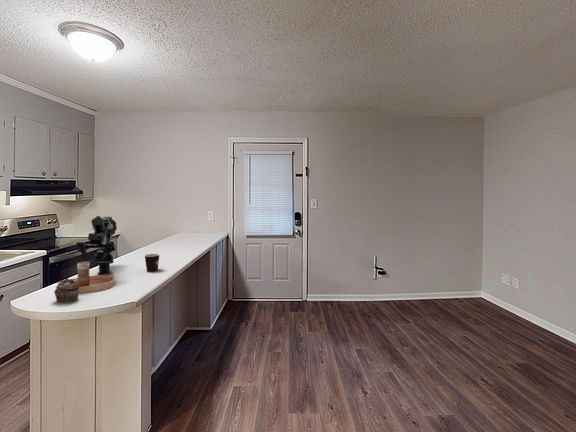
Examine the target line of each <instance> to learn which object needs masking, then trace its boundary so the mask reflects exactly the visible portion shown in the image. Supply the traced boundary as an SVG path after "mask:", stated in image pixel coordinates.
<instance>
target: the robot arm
mask: <svg viewBox="0 0 576 432" xmlns="http://www.w3.org/2000/svg"><path fill="white" fill-rule="evenodd" d="M91 225H92V229H93V231H94V232H93V233H88V235H87V236H88V238H87V240H88V241H89V243H87V244H86V242H85V241H78V242H76V243H75V244H74V246H75V249H76V250H77V251H78V252H79V253H81V259H82V261H84V260H85V258H86V256H87V250H88V249H96V254H95V255H94V262H95V265H98V272H97V275H110V274H111V273H112V271H111V268H110V267H111V265H110V264H114V256H113V254H112V253H113V252H115V251H116V249H117V245H116V243H115V242H114V241H112V237H113V236H114V235H115V234H116V231H117V229H118V227H117V222H116V221H115V220H114V219H113V216H102V217H101V216H100V215H96V216H95V217H93V219H92V220H91Z"/></svg>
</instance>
